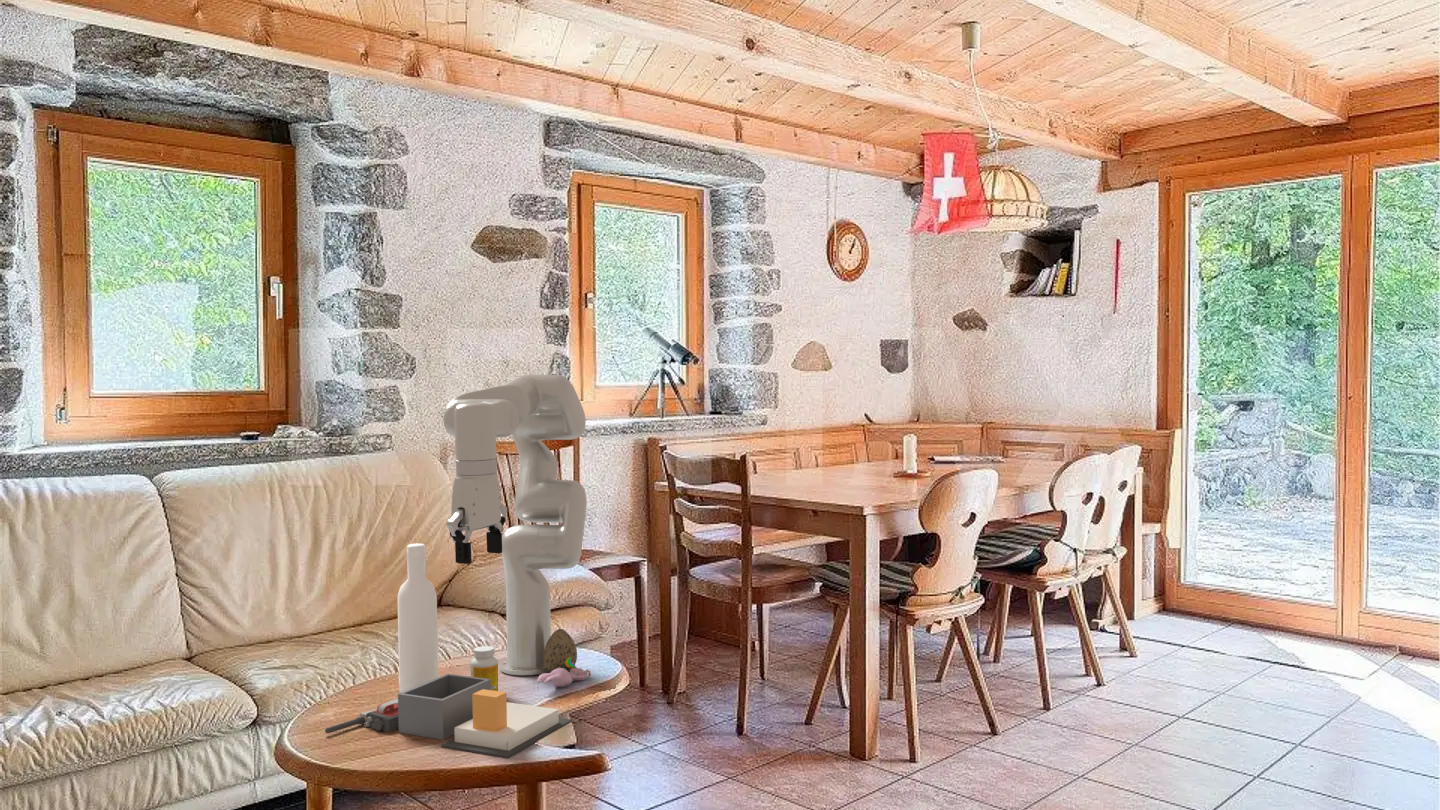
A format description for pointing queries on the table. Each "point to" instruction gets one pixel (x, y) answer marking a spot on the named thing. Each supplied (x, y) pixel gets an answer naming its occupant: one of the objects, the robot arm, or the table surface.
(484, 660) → the supplement bottle
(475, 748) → the mat
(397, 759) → the table surface
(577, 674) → the rabbit figure
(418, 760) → the table surface
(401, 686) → the bottle
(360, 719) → the walkie-talkie
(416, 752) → the table surface
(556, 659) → the decorative egg
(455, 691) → the tub
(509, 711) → the lid
